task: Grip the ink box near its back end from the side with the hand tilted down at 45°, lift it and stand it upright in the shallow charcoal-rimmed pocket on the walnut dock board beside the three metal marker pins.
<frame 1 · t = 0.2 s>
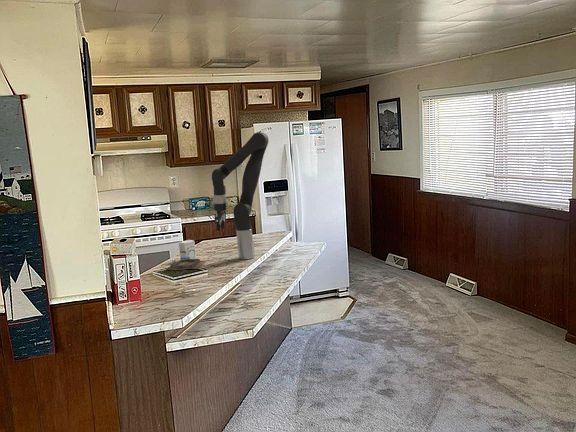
hand: (220, 229, 314), 18 cm above the counter, tool pointing down, fingers open, 8 cm apart
dock: (186, 266, 304), on the counter
ink box: (188, 260, 320), on the counter
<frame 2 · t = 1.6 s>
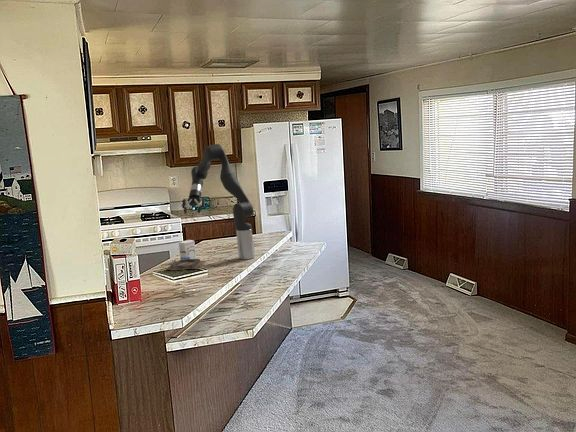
hand: (191, 212, 331), 27 cm above the counter, tool tilted 45°, fingers open, 8 cm apart
nothing on the counter moved.
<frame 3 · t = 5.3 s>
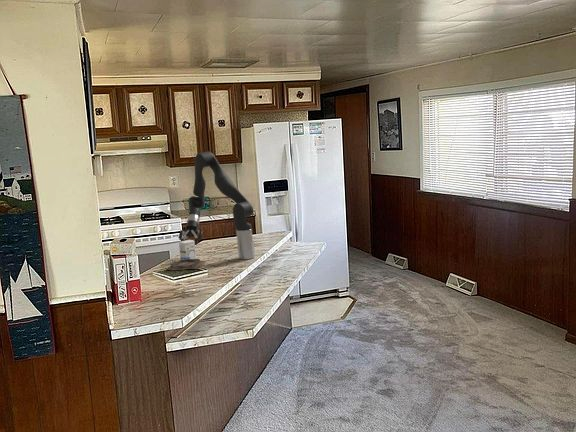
hand: (188, 244, 322), 9 cm above the counter, tool tilted 45°, fingers open, 8 cm apart
ink box: (188, 260, 320), on the counter, touching gripper
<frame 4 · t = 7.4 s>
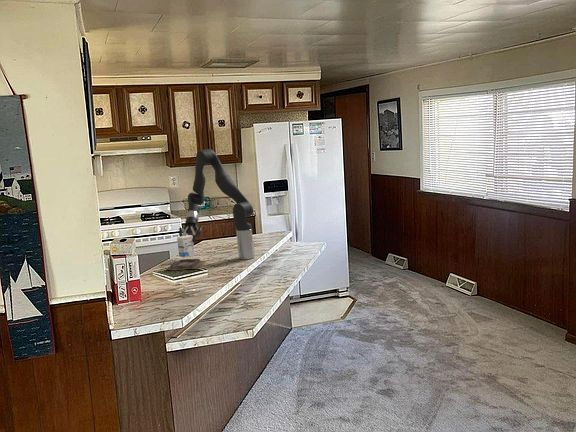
hand: (188, 241, 320), 11 cm above the counter, tool tilted 45°, fingers closed on ink box, 6 cm apart
ink box: (187, 255, 320), point 3 cm above the counter, touching gripper
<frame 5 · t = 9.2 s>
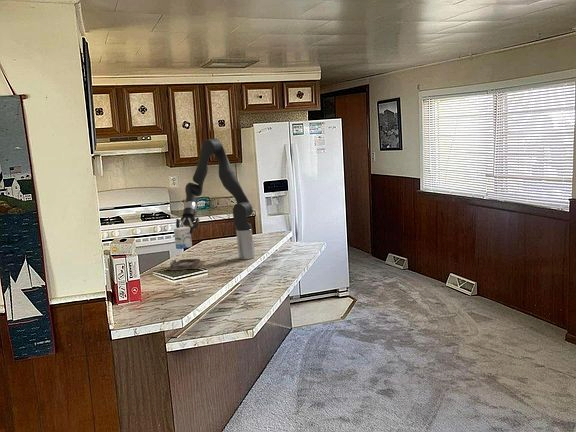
hand: (185, 233, 309), 18 cm above the counter, tool tilted 45°, fingers closed on ink box, 6 cm apart
ink box: (184, 247, 308), point 10 cm above the counter, touching gripper
when the fingers open (11 cm above the counter, at t = 12.3 s): ink box drops 2 cm, resting on dock.
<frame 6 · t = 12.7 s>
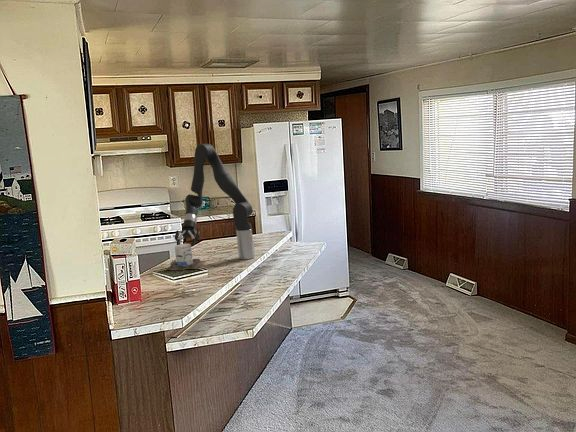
hand: (185, 245, 304), 12 cm above the counter, tool tilted 45°, fingers open, 8 cm apart
ink box: (185, 265, 304), point 1 cm above the counter, touching dock
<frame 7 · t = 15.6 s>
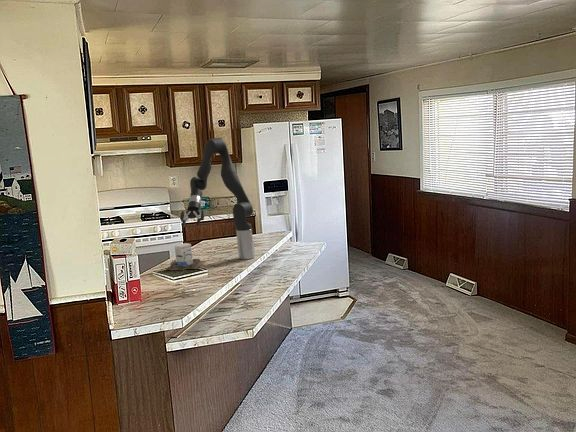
hand: (190, 225, 315), 21 cm above the counter, tool tilted 45°, fingers open, 8 cm apart
nothing on the counter moved.
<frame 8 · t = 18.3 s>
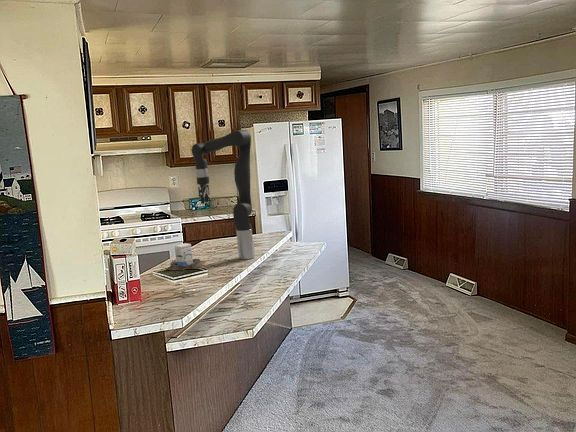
hand: (205, 202, 325), 33 cm above the counter, tool pointing down, fingers open, 8 cm apart
nothing on the counter moved.
at the end: ink box inside the target area on the dock (0.7 cm from its centre), point 0.8 cm above the dock's base; ink box tilted 0°; the gripper is holding nothing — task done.
